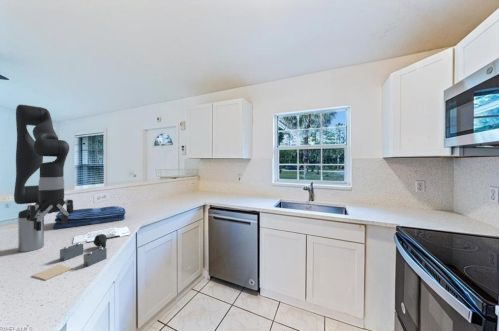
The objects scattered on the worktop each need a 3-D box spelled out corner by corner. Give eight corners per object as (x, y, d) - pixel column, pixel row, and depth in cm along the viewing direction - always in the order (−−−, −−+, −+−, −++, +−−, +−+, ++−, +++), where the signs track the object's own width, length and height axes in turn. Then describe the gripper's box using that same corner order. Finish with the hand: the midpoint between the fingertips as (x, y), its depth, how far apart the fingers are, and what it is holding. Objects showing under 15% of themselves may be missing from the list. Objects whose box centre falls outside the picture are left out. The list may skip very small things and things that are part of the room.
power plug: (99, 252, 101) (94, 233, 107) (96, 261, 104) (91, 242, 110) (112, 248, 105) (106, 230, 111) (109, 257, 108) (104, 239, 114)
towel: (126, 220, 161) (126, 207, 161) (52, 231, 136) (52, 215, 136) (123, 214, 180) (123, 203, 180) (57, 222, 155) (57, 209, 155)
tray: (74, 236, 127) (74, 230, 127) (126, 228, 144) (126, 222, 144) (72, 246, 111) (72, 240, 111) (131, 235, 128) (131, 230, 128)
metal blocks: (59, 260, 94) (59, 248, 94) (79, 253, 101) (79, 242, 101) (88, 267, 88) (88, 254, 88) (106, 259, 95) (106, 247, 95)
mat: (31, 276, 80) (31, 275, 80) (59, 266, 89) (59, 264, 89) (45, 281, 77) (45, 279, 77) (72, 269, 86) (72, 268, 86)
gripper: (66, 185, 91) (66, 221, 91) (22, 189, 77) (22, 231, 78) (77, 186, 89) (77, 223, 89) (34, 190, 75) (34, 234, 75)
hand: (51, 227), depth 83 cm, fingers open, 8 cm apart
